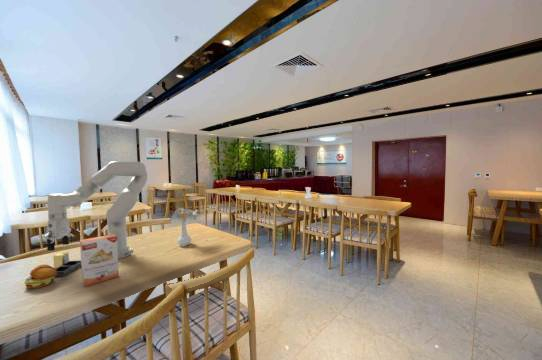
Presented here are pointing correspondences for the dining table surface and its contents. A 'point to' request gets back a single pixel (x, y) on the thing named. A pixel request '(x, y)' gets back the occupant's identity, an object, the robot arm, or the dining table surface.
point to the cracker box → (99, 259)
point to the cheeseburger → (40, 276)
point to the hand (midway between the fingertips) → (58, 247)
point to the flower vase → (184, 225)
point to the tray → (67, 268)
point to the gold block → (61, 259)
